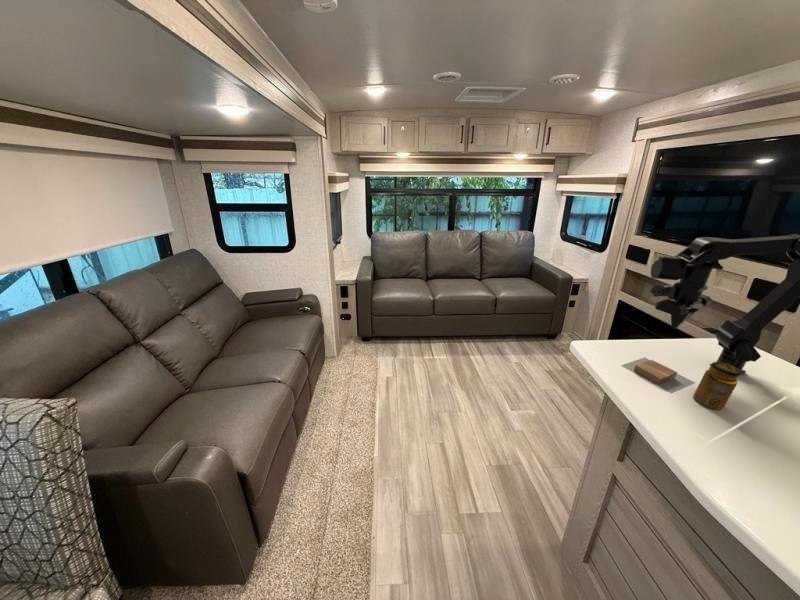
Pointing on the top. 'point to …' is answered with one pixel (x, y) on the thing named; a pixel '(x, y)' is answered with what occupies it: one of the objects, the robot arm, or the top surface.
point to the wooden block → (655, 371)
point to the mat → (669, 385)
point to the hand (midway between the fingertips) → (673, 328)
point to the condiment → (717, 385)
